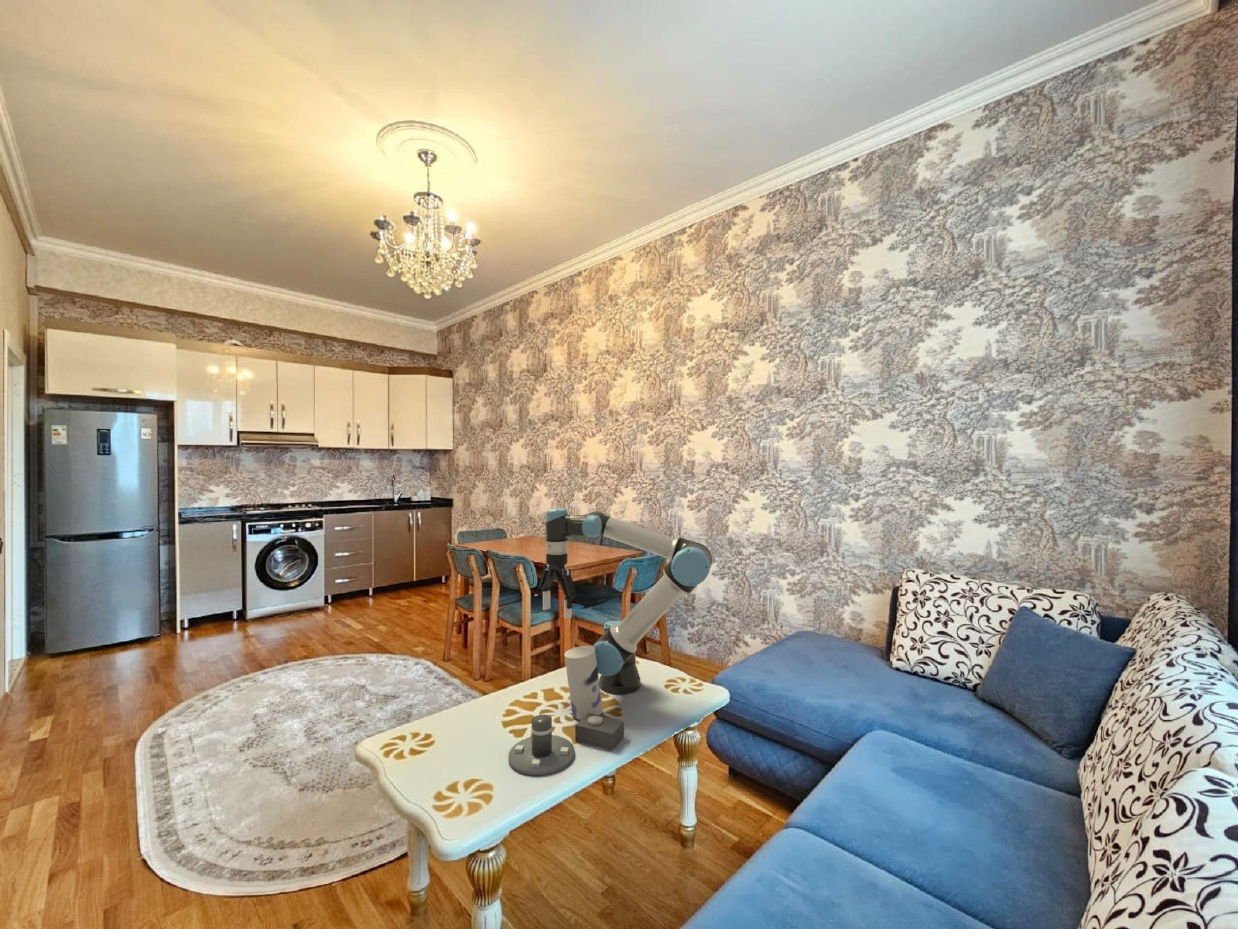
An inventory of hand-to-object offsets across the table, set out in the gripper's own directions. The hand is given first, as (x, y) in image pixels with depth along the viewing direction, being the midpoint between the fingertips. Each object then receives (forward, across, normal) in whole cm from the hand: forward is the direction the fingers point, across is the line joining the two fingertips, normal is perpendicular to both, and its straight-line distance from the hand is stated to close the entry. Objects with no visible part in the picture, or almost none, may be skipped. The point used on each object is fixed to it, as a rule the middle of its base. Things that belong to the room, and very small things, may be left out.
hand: (557, 613), depth 178 cm
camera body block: (+29, +32, -6) cm, 44 cm away
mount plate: (+29, +29, -24) cm, 47 cm away
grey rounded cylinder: (+28, +29, -24) cm, 47 cm away
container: (+28, +18, 0) cm, 34 cm away
